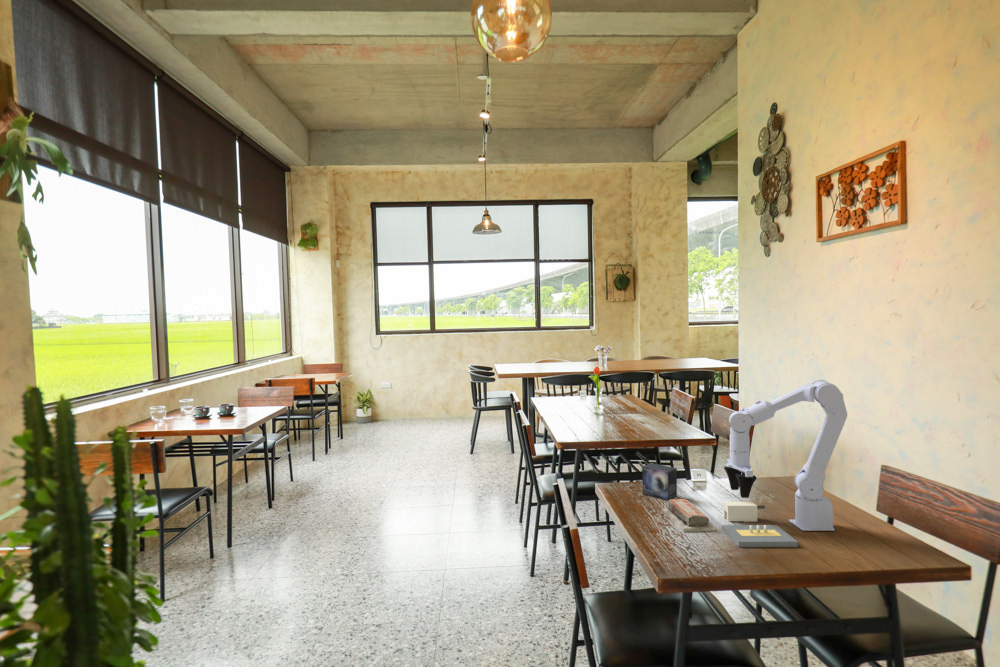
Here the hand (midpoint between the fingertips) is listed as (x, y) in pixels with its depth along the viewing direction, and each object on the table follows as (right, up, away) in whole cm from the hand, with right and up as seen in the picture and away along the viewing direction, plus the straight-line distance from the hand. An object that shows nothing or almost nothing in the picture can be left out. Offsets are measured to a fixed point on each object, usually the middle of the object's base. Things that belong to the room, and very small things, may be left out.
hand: (739, 493), depth 167 cm
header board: (-1, -8, -15) cm, 17 cm away
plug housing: (+2, -8, 0) cm, 8 cm away
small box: (-18, -8, +24) cm, 31 cm away
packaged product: (-16, -9, 0) cm, 19 cm away
